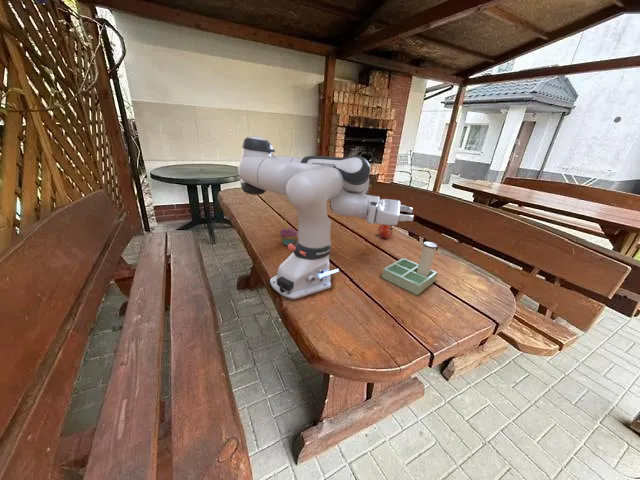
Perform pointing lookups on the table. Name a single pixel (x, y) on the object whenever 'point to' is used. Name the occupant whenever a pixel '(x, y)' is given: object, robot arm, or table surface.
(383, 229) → the pomegranate
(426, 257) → the capped cylinder
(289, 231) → the cupcake
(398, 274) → the compartment tray
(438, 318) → the table surface
